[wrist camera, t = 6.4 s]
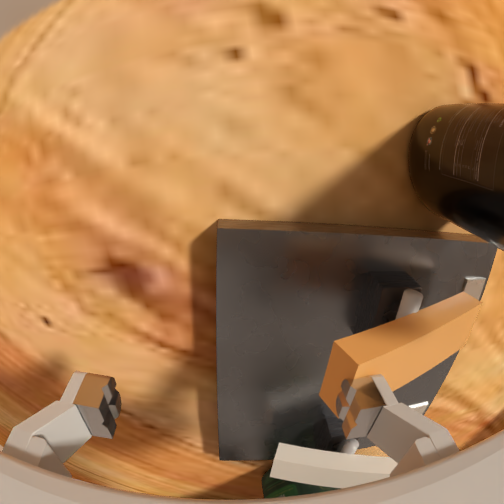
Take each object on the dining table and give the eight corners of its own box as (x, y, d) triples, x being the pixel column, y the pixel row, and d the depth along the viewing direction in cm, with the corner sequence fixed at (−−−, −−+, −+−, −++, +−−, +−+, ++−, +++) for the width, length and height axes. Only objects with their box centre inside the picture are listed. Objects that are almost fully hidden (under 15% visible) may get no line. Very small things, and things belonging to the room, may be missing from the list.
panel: (485, 236, 17) (516, 254, 14) (403, 426, 24) (415, 451, 21) (218, 219, 15) (215, 242, 12) (219, 446, 23) (219, 478, 20)
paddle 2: (455, 273, 15) (486, 291, 13) (433, 335, 17) (459, 355, 15) (322, 312, 11) (364, 349, 9) (304, 391, 13) (334, 428, 11)
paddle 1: (416, 443, 16) (417, 469, 14) (394, 471, 18) (393, 494, 16) (283, 427, 19) (275, 454, 17) (276, 456, 20) (268, 480, 18)
